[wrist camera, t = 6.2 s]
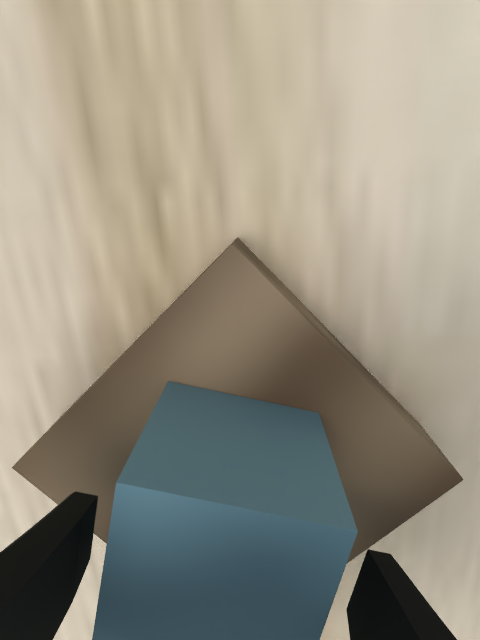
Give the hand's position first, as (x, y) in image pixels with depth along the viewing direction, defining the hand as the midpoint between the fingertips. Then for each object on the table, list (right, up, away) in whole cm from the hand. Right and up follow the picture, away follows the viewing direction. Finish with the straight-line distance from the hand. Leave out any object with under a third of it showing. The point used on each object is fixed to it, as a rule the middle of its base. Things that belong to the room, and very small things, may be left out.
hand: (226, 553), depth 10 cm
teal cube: (0, +1, +3) cm, 3 cm away
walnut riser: (0, +2, +7) cm, 7 cm away
